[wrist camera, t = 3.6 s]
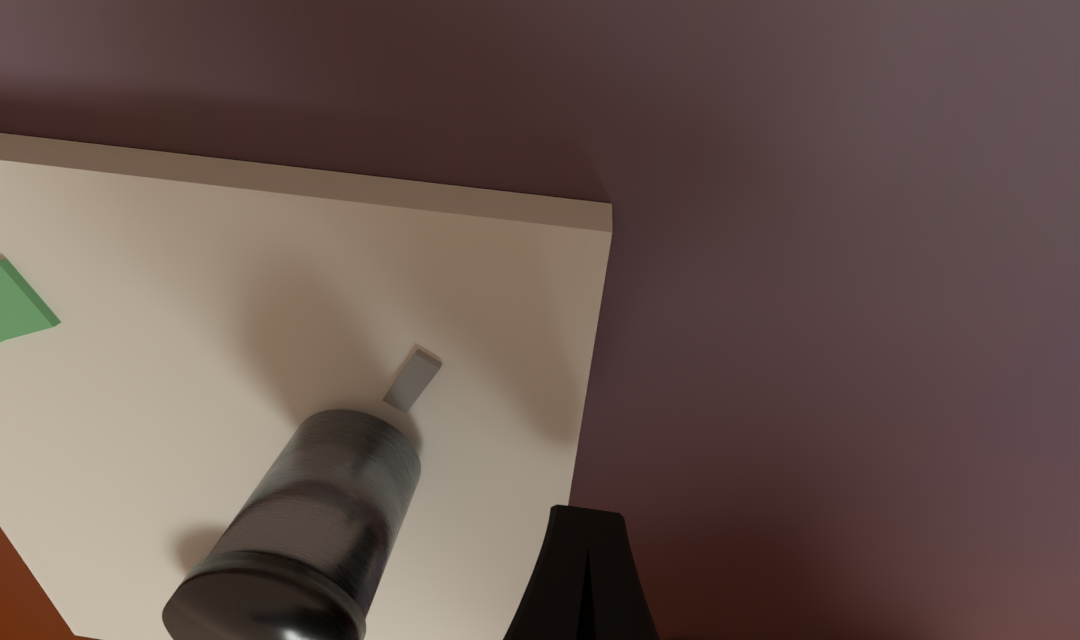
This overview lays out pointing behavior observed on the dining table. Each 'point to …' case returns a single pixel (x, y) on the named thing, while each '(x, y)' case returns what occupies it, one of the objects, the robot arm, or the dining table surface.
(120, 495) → the dial board
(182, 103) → the dining table surface
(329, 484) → the dark grey elongated piece
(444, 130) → the dining table surface
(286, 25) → the dining table surface
